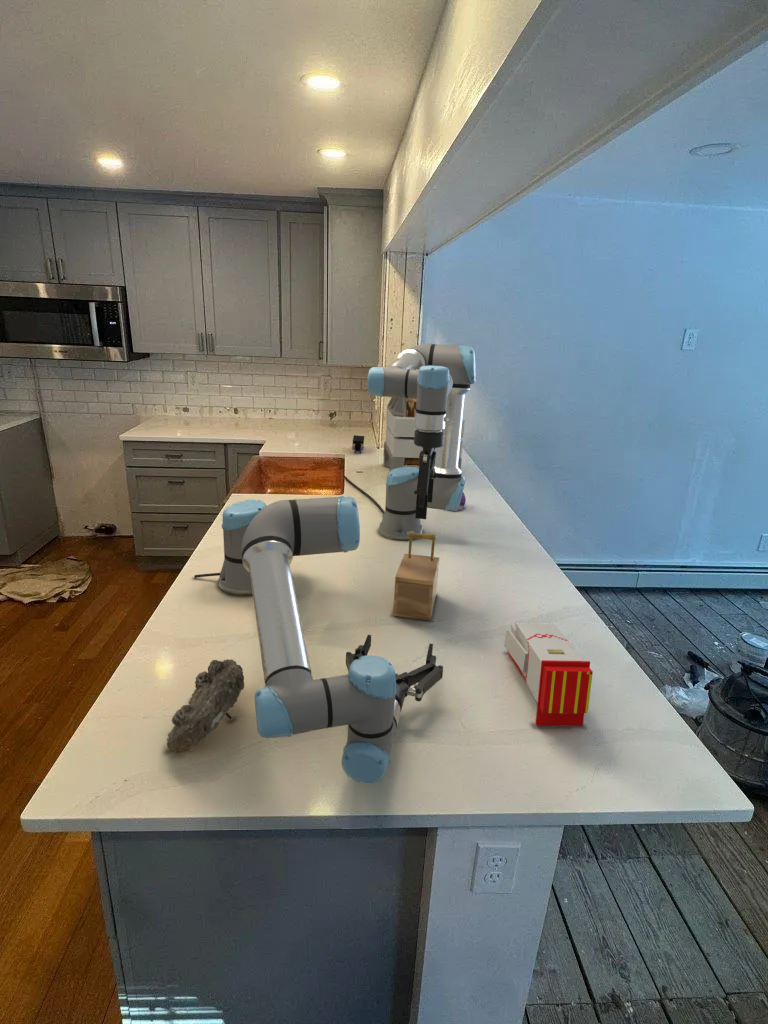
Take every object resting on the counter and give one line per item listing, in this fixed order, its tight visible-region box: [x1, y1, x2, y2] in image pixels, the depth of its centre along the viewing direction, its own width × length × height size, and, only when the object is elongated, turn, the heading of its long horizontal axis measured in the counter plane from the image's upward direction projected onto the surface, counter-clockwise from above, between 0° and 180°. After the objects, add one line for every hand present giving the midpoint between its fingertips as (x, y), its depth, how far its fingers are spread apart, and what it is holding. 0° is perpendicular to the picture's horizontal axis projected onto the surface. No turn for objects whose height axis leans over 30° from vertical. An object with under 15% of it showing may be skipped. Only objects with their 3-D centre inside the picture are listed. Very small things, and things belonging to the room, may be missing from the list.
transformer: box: [383, 397, 465, 472], centre depth 268 cm, size 34×33×41 cm
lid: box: [394, 532, 440, 586], centre depth 148 cm, size 15×10×9 cm, turn 169°
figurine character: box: [351, 435, 365, 454], centre depth 310 cm, size 7×8×15 cm
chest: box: [392, 562, 440, 621], centre depth 151 cm, size 14×10×10 cm
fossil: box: [166, 658, 245, 754], centre depth 106 cm, size 22×10×15 cm
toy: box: [503, 622, 594, 727], centre depth 121 cm, size 12×13×30 cm
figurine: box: [450, 492, 467, 512], centre depth 226 cm, size 9×10×15 cm
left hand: (399, 644), depth 124 cm, fingers open, 13 cm apart
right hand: (424, 509), depth 149 cm, fingers open, 13 cm apart
